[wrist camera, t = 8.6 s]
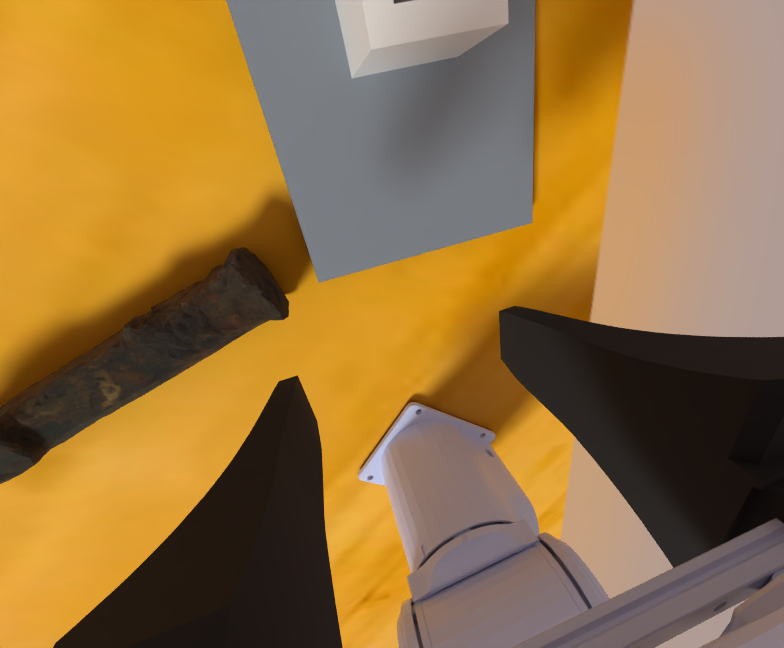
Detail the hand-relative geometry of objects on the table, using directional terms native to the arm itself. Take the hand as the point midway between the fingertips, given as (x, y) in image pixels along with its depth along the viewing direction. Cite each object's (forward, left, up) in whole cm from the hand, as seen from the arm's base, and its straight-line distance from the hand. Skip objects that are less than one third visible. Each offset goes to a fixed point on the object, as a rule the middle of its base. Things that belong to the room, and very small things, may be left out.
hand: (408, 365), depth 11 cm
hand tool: (+9, +10, -10) cm, 17 cm away
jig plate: (+3, -9, -9) cm, 13 cm away
